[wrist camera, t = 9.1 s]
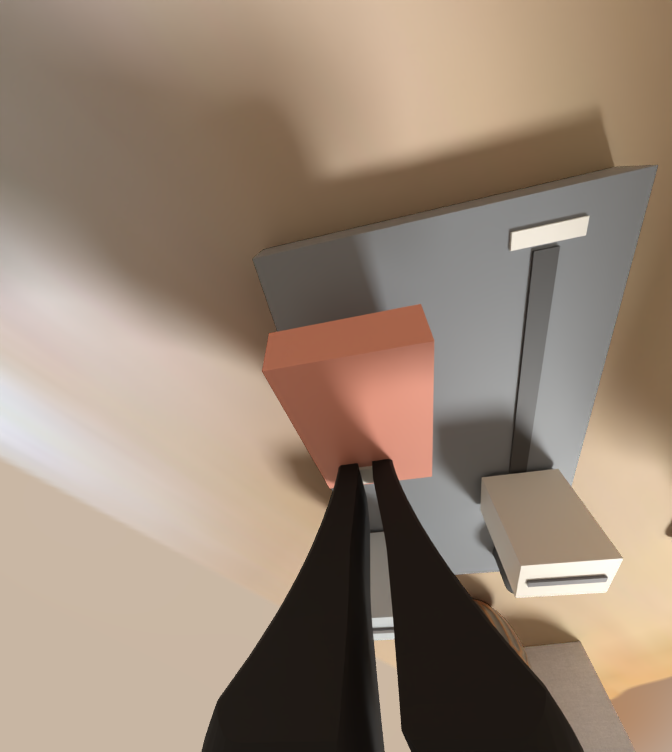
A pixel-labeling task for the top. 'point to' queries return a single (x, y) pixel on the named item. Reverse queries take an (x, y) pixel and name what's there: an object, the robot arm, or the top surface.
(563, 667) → the grey rectangular block
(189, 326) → the top surface
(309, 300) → the console
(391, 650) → the top surface
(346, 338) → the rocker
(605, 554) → the slotted cream block
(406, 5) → the top surface
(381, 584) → the slotted white box
